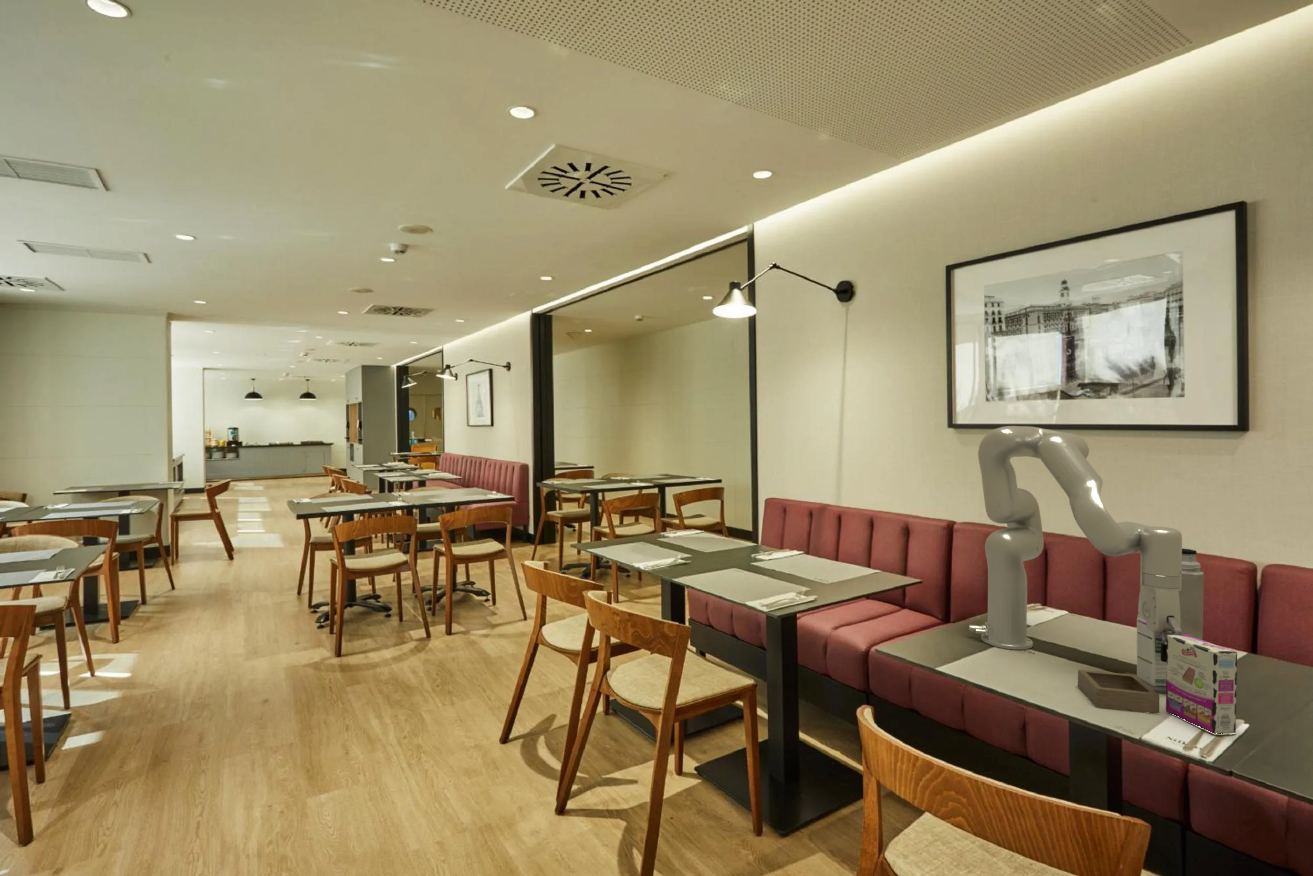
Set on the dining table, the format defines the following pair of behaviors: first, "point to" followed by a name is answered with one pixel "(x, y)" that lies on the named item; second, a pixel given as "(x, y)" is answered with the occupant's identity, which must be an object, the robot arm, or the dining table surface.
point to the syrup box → (1150, 655)
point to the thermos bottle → (1191, 595)
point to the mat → (1156, 688)
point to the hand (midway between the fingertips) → (1159, 654)
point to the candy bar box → (1201, 683)
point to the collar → (1118, 691)
